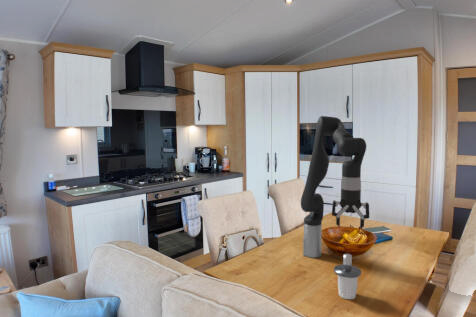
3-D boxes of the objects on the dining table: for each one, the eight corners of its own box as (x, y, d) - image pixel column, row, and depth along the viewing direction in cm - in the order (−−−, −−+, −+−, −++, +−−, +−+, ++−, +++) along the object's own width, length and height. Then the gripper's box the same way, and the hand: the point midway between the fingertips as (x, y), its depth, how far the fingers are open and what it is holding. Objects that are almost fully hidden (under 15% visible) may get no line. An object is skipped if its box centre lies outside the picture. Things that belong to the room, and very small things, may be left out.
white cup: (334, 290, 135) (334, 268, 134) (352, 289, 135) (352, 267, 134) (341, 301, 127) (342, 276, 126) (360, 299, 127) (361, 275, 126)
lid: (333, 276, 127) (333, 258, 126) (333, 265, 137) (334, 249, 136) (362, 279, 124) (362, 261, 123) (360, 267, 134) (360, 251, 133)
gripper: (332, 188, 127) (331, 228, 128) (370, 190, 122) (369, 231, 124) (332, 185, 134) (332, 222, 135) (369, 186, 129) (368, 225, 131)
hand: (349, 227), depth 130 cm, fingers open, 8 cm apart
